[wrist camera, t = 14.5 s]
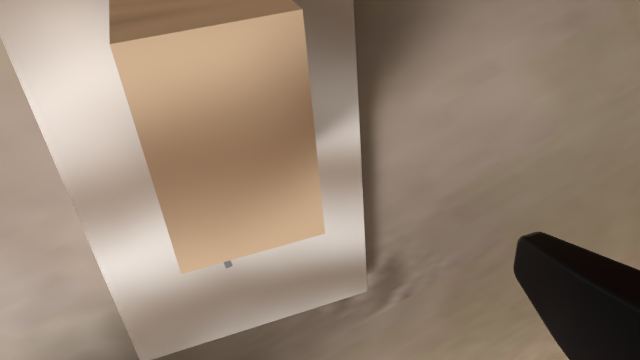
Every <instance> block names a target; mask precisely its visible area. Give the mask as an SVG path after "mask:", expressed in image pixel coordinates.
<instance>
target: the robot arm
mask: <svg viewBox="0 0 640 360" xmlns="http://www.w3.org/2000/svg"><path fill="white" fill-rule="evenodd" d="M514 273H515V276H516V278H517V280H518V282H519V283H520V285H521V287H522V288H523V290H524V291H525V293H526V295H527V296H528V298H529V300H530V301H531V303H532V304H533V306H534V308H535V309H536V311H537V312H538V314H539V316H540V317H541V319H542V320H543V322H544V324H545V325H546V327H547V328H548V330H549V332H550V333H551V335H552V336H553V338H554V339H555V341H556V342H557V344H558V345H559V346H560V348H561V349H562V350H563V352H564V353H565V354H566V356H567V357H568V358H569V360H640V270H637V269H635V268H632V267H630V266H627V265H625V264H622V263H620V262H617V261H614V260H612V259H609V258H607V257H604V256H602V255H599V254H597V253H594V252H591V251H589V250H586V249H584V248H581V247H579V246H576V245H574V244H571V243H568V242H566V241H563V240H561V239H558V238H556V237H553V236H551V235H548V234H545V233H543V232H533V233H530V234H527V235H524V236H522V237H520V238H519V240H518V242H517V248H516V254H515V260H514Z"/></svg>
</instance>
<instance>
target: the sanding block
mask: <svg viewBox="0 0 640 360" xmlns="http://www.w3.org/2000/svg"><path fill="white" fill-rule="evenodd" d="M109 38H110V47H111V50H112V54H113V57H114V60H115V63H116V66H117V70H118V73H119V76H120V79H121V82H122V86H123V89H124V92H125V95H126V99H127V102H128V105H129V108H130V111H131V115H132V118H133V121H134V124H135V127H136V131H137V134H138V137H139V140H140V143H141V147H142V150H143V153H144V156H145V159H146V163H147V166H148V169H149V172H150V175H151V179H152V182H153V185H154V188H155V191H156V195H157V198H158V201H159V204H160V207H161V211H162V214H163V217H164V220H165V224H166V227H167V230H168V233H169V236H170V240H171V243H172V246H173V249H174V252H175V256H176V259H177V262H178V265H179V268H180V272H181V274H184V273H187V272H191V271H194V270H198V269H201V268H205V267H209V266H212V265H216V264H219V263H223V262H226V261H230V260H233V259H237V258H240V257H244V256H247V255H251V254H254V253H258V252H262V251H265V250H269V249H272V248H276V247H279V246H283V245H286V244H290V243H293V242H297V241H300V240H304V239H307V238H311V237H315V236H318V235H322V234H325V229H324V219H323V209H322V199H321V189H320V179H319V169H318V159H317V149H316V139H315V129H314V118H313V108H312V98H311V88H310V78H309V68H308V58H307V48H306V38H305V28H304V18H303V9H302V8H300V7H299V6H298V5H297V4H296V3H295V2H293V1H292V0H109Z"/></svg>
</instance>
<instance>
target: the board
mask: <svg viewBox="0 0 640 360" xmlns="http://www.w3.org/2000/svg"><path fill="white" fill-rule="evenodd" d="M292 1H293V2H295V3H296V4H297V5H298V6H299V7H300V8H302V9H303V18H304V28H305V38H306V48H307V58H308V68H309V78H310V88H311V98H312V108H313V118H314V129H315V139H316V149H317V159H318V169H319V179H320V189H321V199H322V209H323V219H324V229H325V234H322V235H318V236H315V237H311V238H307V239H304V240H300V241H297V242H293V243H290V244H286V245H283V246H279V247H276V248H272V249H269V250H265V251H262V252H258V253H254V254H251V255H247V256H244V257H240V258H237V259H233V260H230V261H226V262H223V263H219V264H216V265H212V266H209V267H205V268H201V269H198V270H194V271H191V272H187V273H184V274H181V272H180V268H179V265H178V262H177V259H176V256H175V252H174V249H173V246H172V243H171V240H170V236H169V233H168V230H167V227H166V224H165V220H164V217H163V214H162V211H161V207H160V204H159V201H158V198H157V195H156V191H155V188H154V185H153V182H152V179H151V175H150V172H149V169H148V166H147V163H146V159H145V156H144V153H143V150H142V147H141V143H140V140H139V137H138V134H137V131H136V127H135V124H134V121H133V118H132V115H131V111H130V108H129V105H128V102H127V99H126V95H125V92H124V89H123V86H122V82H121V79H120V76H119V73H118V70H117V66H116V63H115V60H114V57H113V54H112V50H111V47H110V38H109V0H0V37H1V39H2V41H3V44H4V46H5V48H6V51H7V53H8V55H9V57H10V60H11V62H12V64H13V67H14V69H15V71H16V74H17V76H18V78H19V81H20V83H21V85H22V88H23V90H24V92H25V95H26V97H27V99H28V102H29V104H30V106H31V109H32V111H33V113H34V116H35V118H36V120H37V123H38V125H39V127H40V130H41V132H42V134H43V137H44V139H45V141H46V144H47V146H48V148H49V151H50V153H51V155H52V158H53V160H54V162H55V165H56V167H57V169H58V172H59V174H60V176H61V179H62V181H63V183H64V185H65V188H66V190H67V192H68V195H69V197H70V199H71V202H72V204H73V206H74V209H75V211H76V213H77V216H78V218H79V220H80V223H81V225H82V227H83V230H84V232H85V234H86V237H87V239H88V241H89V244H90V246H91V248H92V251H93V253H94V255H95V258H96V260H97V262H98V265H99V267H100V269H101V272H102V274H103V276H104V279H105V281H106V283H107V286H108V288H109V290H110V293H111V295H112V297H113V300H114V302H115V304H116V307H117V309H118V311H119V313H120V316H121V318H122V320H123V323H124V325H125V327H126V330H127V332H128V334H129V337H130V339H131V341H132V344H133V346H134V348H135V351H136V353H137V355H138V358H139V360H153V359H156V358H159V357H162V356H165V355H169V354H172V353H175V352H178V351H181V350H184V349H188V348H191V347H194V346H197V345H200V344H203V343H206V342H210V341H213V340H216V339H219V338H222V337H225V336H229V335H232V334H235V333H238V332H241V331H244V330H247V329H251V328H254V327H257V326H260V325H263V324H266V323H270V322H273V321H276V320H279V319H282V318H285V317H288V316H292V315H295V314H298V313H301V312H304V311H307V310H311V309H314V308H317V307H320V306H323V305H326V304H330V303H333V302H336V301H339V300H342V299H345V298H348V297H352V296H355V295H358V294H361V293H364V292H367V271H366V250H365V229H364V208H363V187H362V166H361V145H360V124H359V103H358V82H357V61H356V40H355V19H354V0H292Z"/></svg>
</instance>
